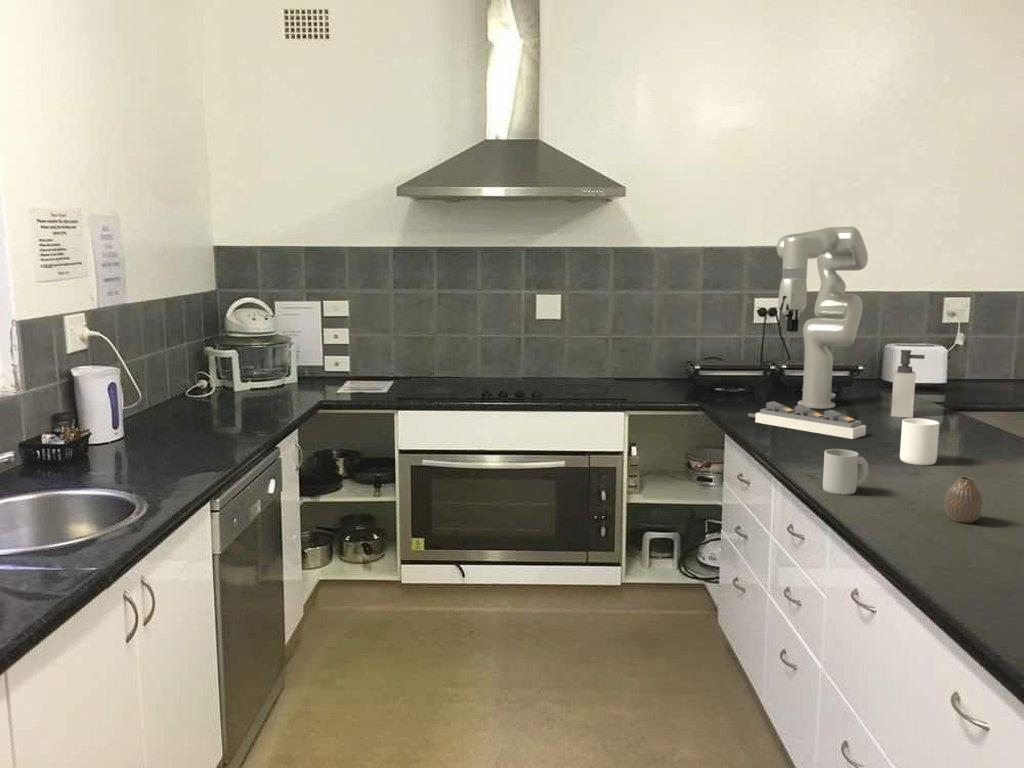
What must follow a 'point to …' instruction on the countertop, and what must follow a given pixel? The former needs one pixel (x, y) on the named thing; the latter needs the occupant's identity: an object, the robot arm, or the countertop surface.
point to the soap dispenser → (904, 387)
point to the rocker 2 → (807, 411)
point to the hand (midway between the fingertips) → (792, 331)
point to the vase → (964, 501)
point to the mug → (919, 441)
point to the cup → (843, 471)
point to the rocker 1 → (779, 407)
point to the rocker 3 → (838, 416)
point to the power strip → (810, 423)
